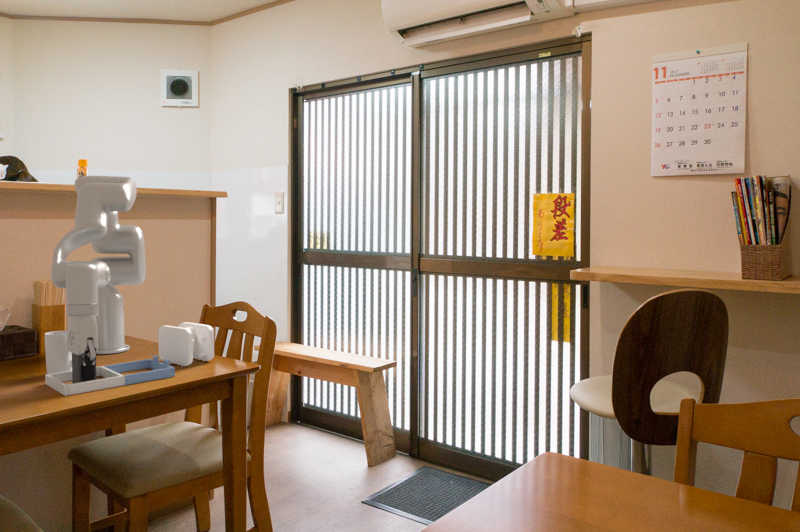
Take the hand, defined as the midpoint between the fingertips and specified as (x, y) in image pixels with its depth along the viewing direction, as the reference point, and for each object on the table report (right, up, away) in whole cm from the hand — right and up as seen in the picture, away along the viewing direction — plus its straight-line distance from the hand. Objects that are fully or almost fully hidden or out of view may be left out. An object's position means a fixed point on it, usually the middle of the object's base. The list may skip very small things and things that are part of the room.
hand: (84, 377), depth 163 cm
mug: (-11, -1, +11) cm, 15 cm away
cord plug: (0, -2, 0) cm, 2 cm away
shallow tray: (+5, -2, +5) cm, 7 cm away
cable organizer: (+17, 0, +28) cm, 33 cm away
